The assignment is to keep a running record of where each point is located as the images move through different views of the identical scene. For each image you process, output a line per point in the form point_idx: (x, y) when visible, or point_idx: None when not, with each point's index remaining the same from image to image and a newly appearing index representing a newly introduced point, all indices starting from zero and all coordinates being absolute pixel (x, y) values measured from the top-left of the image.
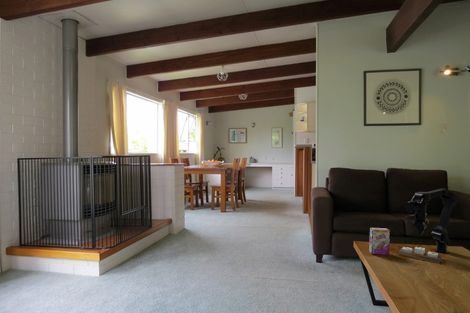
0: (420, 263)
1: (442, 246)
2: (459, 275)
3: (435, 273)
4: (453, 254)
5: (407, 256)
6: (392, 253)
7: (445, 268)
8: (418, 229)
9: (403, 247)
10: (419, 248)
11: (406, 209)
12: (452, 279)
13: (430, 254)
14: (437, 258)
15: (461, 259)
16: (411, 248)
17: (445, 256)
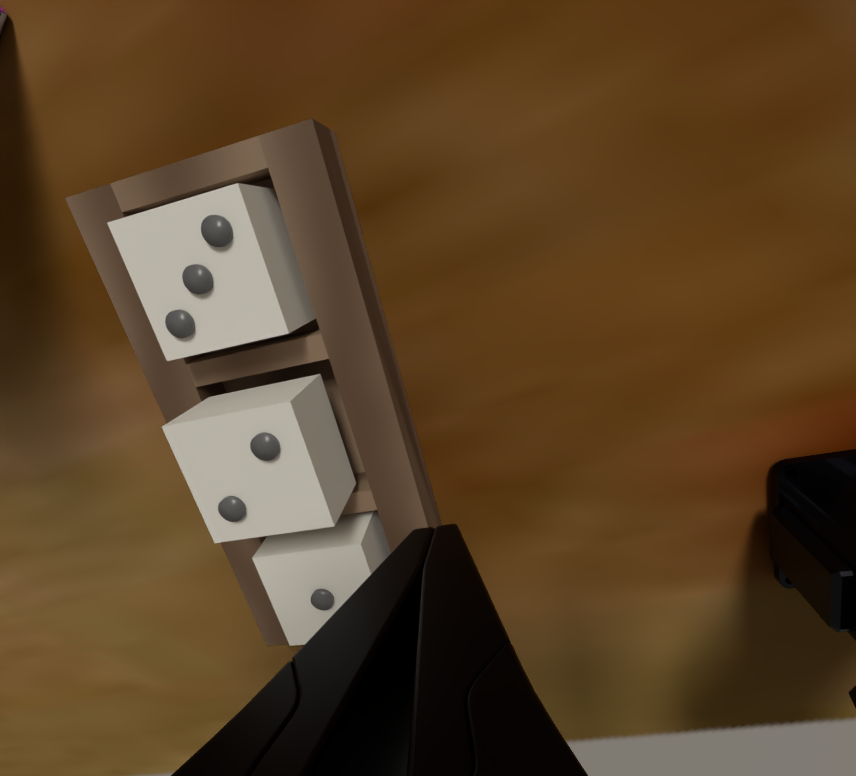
0: (105, 499)
1: (825, 615)
2: (153, 748)
3: (13, 643)
4: (801, 633)
5: None
6: (89, 97)
7: (202, 666)
8: (249, 731)
9: (184, 206)
10: (239, 475)
11: None
12: (31, 731)
13: (266, 582)
14: (280, 627)
15: (635, 711)
16: (264, 326)
17: (615, 594)
